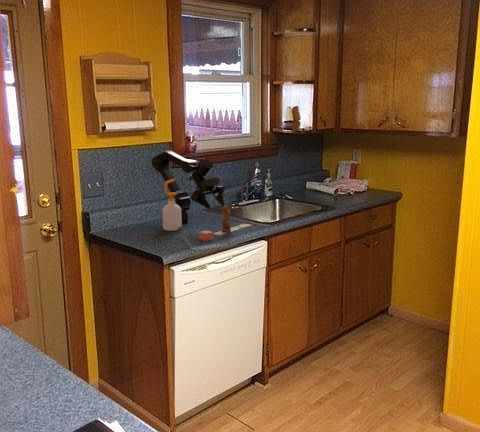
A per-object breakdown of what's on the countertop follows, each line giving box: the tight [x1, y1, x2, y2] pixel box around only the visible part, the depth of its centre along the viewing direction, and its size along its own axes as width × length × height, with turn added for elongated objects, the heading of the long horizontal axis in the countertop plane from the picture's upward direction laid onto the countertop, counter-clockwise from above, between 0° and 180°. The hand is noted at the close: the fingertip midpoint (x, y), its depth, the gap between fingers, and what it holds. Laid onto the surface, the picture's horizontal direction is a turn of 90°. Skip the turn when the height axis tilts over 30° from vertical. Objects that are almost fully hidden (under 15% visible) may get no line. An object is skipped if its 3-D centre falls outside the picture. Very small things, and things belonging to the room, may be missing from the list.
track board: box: [213, 223, 251, 236], centre depth 251 cm, size 26×11×1 cm, turn 143°
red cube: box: [198, 230, 214, 242], centre depth 233 cm, size 4×4×4 cm
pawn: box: [221, 205, 232, 233], centre depth 246 cm, size 4×4×12 cm
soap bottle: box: [162, 178, 183, 232], centre depth 254 cm, size 9×9×25 cm
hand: (217, 207), depth 249 cm, fingers open, 9 cm apart
